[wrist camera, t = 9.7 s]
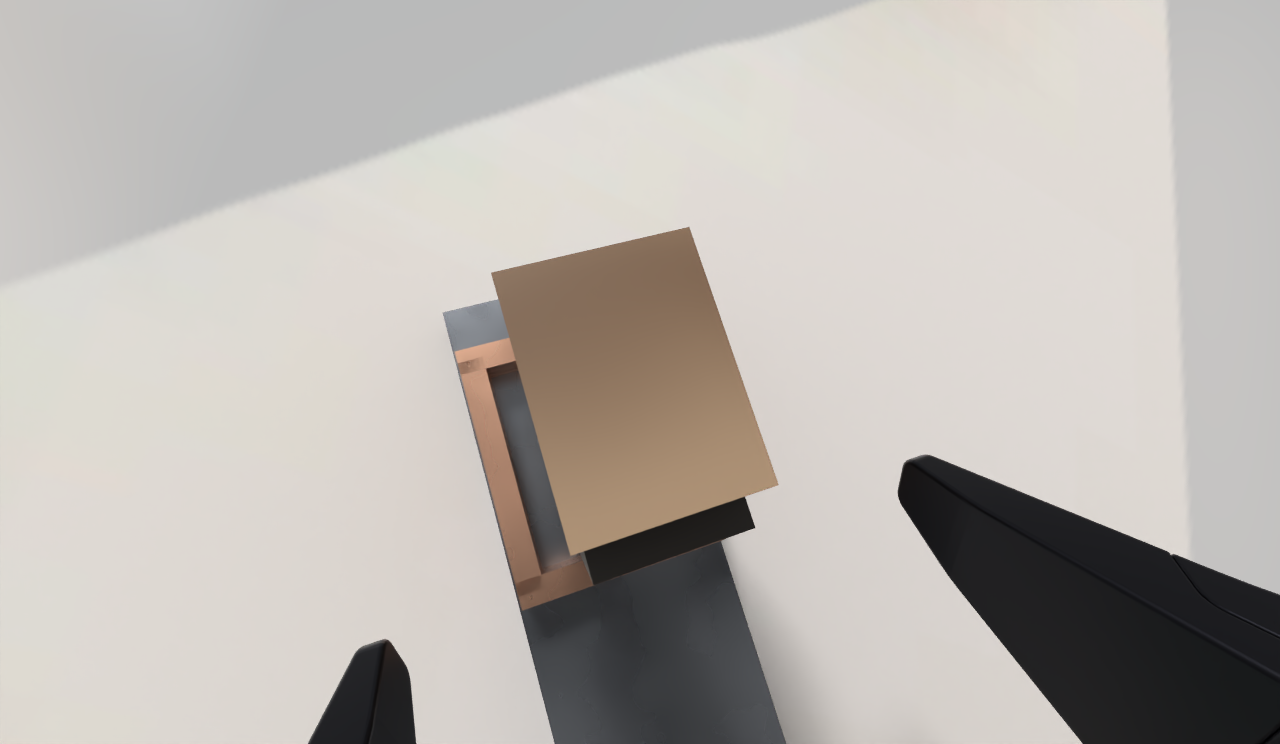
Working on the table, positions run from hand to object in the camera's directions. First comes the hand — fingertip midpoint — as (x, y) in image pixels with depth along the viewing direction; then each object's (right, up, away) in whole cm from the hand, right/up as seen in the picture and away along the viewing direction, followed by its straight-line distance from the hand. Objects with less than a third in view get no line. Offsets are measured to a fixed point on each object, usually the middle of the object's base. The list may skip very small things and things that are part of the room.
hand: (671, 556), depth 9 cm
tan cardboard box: (-2, 0, +10) cm, 10 cm away
